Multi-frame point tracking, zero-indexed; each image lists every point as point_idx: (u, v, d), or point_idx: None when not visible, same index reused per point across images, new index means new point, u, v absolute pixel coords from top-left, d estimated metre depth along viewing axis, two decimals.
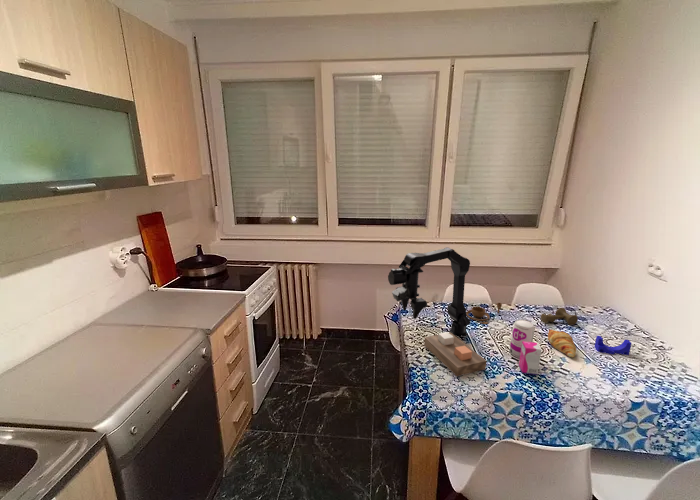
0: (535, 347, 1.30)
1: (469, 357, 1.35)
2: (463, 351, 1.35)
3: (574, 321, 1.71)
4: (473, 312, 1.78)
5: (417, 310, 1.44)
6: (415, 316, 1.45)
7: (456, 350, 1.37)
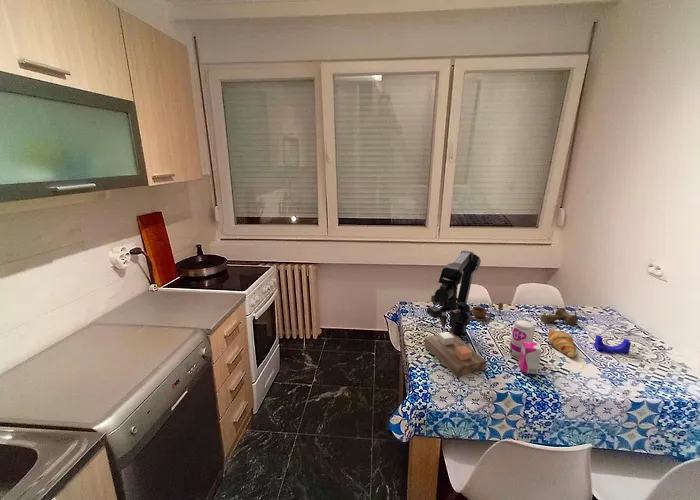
0: (535, 347, 1.30)
1: (469, 357, 1.35)
2: (463, 351, 1.35)
3: (574, 321, 1.71)
4: (474, 312, 1.79)
5: (442, 319, 1.44)
6: (442, 325, 1.45)
7: (456, 350, 1.37)
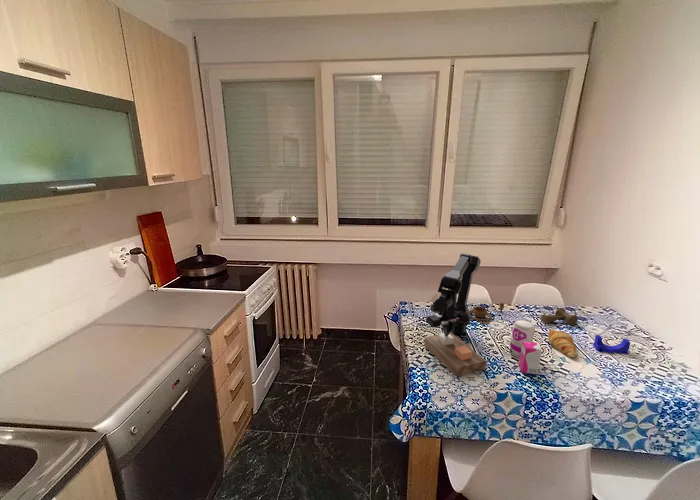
0: (535, 347, 1.30)
1: (469, 357, 1.35)
2: (463, 351, 1.35)
3: (574, 321, 1.71)
4: (475, 312, 1.79)
5: (444, 327, 1.45)
6: (444, 333, 1.47)
7: (456, 350, 1.37)
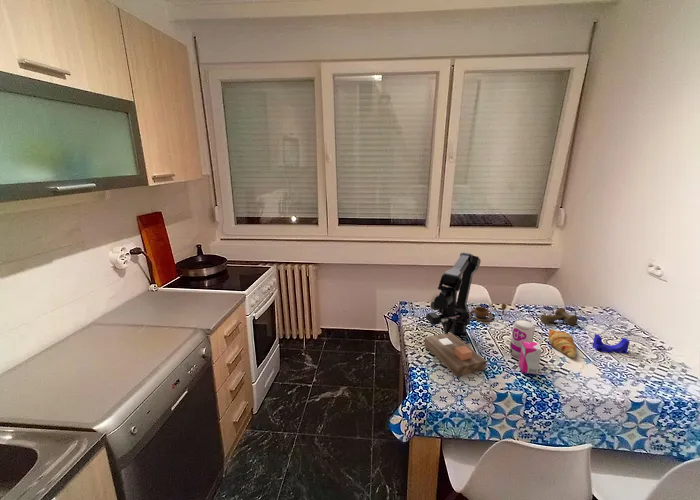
0: (535, 347, 1.30)
1: (469, 357, 1.35)
2: (463, 351, 1.35)
3: (574, 321, 1.71)
4: (476, 312, 1.78)
5: (444, 325, 1.45)
6: (444, 330, 1.46)
7: (456, 350, 1.37)
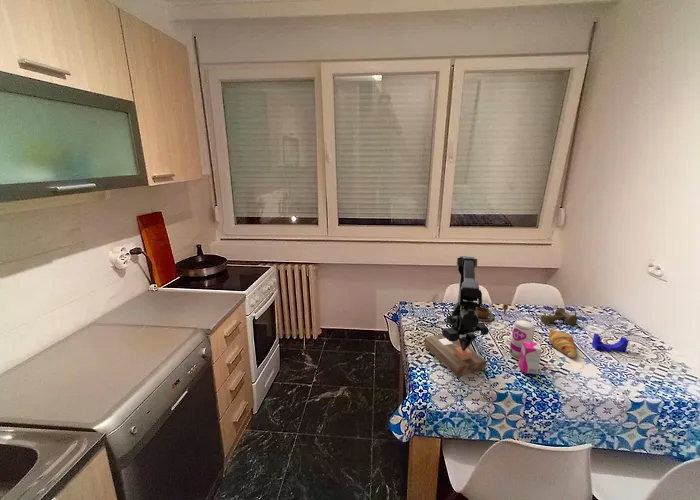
0: (535, 347, 1.30)
1: (469, 358, 1.35)
2: (463, 351, 1.35)
3: (574, 321, 1.71)
4: (477, 312, 1.78)
5: (462, 341, 1.34)
6: (462, 347, 1.36)
7: (456, 351, 1.37)
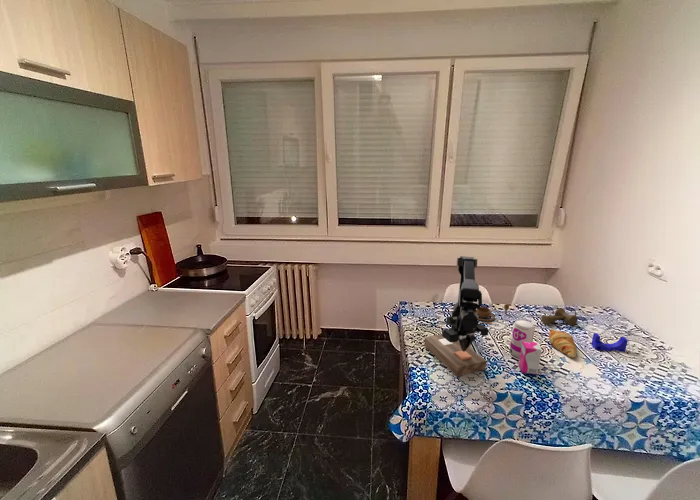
0: (535, 347, 1.30)
1: None
2: (462, 355, 1.36)
3: (574, 321, 1.71)
4: (478, 312, 1.79)
5: (462, 342, 1.34)
6: (462, 348, 1.36)
7: (456, 355, 1.38)
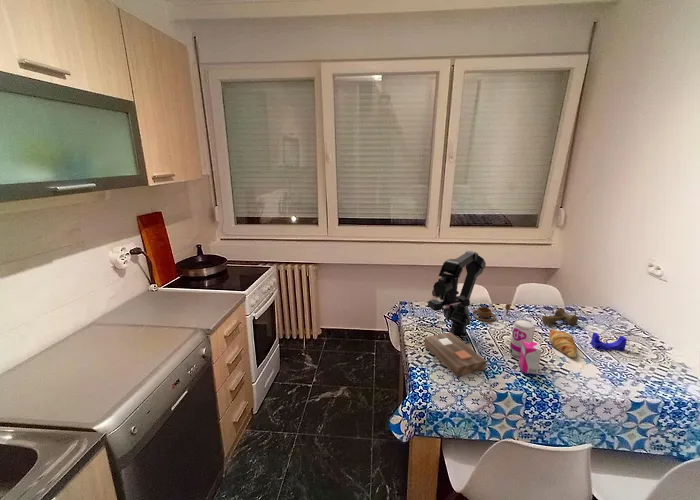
0: (535, 347, 1.30)
1: None
2: (462, 355, 1.36)
3: (574, 322, 1.71)
4: (478, 312, 1.79)
5: (446, 312, 1.48)
6: (446, 317, 1.50)
7: (456, 355, 1.38)
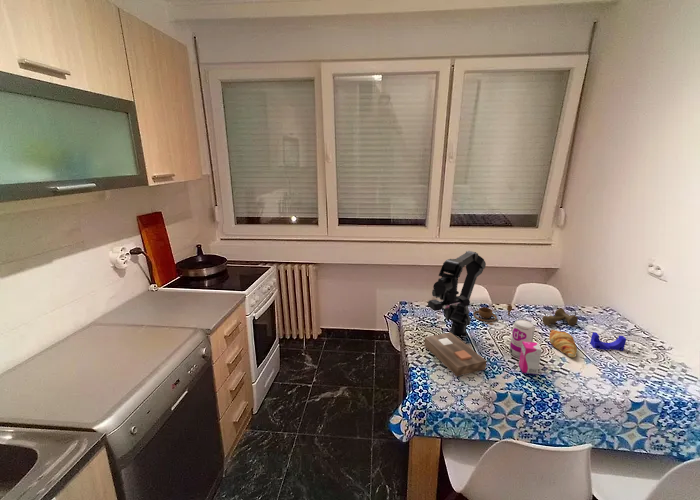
0: (535, 347, 1.30)
1: None
2: (462, 355, 1.36)
3: (574, 322, 1.71)
4: (479, 312, 1.78)
5: (446, 311, 1.48)
6: (446, 317, 1.50)
7: (456, 355, 1.38)
